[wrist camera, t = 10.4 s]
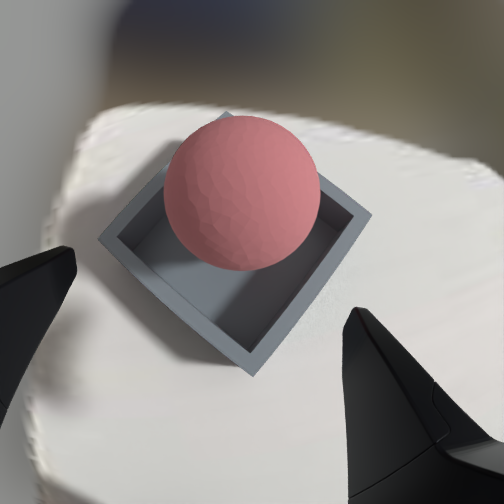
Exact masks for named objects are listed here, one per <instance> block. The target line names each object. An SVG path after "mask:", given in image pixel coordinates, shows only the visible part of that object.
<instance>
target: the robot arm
mask: <svg viewBox="0 0 504 504" xmlns="http://www.w3.org/2000/svg"><path fill="white" fill-rule="evenodd" d="M76 274H77V265H76V258H75V252H74V250H73V248H71V247H68V246H59V247H56V248H53V249H51V250H48V251H45V252H42V253H39V254H36V255H33V256H31V257H28V258H25V259H22V260H20V261H17V262H14V263H12V264H9V265H6V266H4V267H1V268H0V428H1V425H2V423H3V420H4V417H5V415H6V413H7V409H8V408H9V405H10V403H11V401H12V398H13V396H14V394H15V392H16V390H17V387H18V385H19V383H20V381H21V379H22V377H23V375H24V373H25V371H26V369H27V367H28V365H29V363H30V361H31V359H32V357H33V355H34V353H35V351H36V350H37V348H38V346H39V344H40V342H41V340H42V339H43V337H44V335H45V333H46V331H47V330H48V328H49V326H50V324H51V323H52V321H53V319H54V318H55V316H56V314H57V312H58V311H59V309H60V307H61V305H62V303H63V301H64V299H65V296H66V294H67V292H68V290H69V288H70V286H71V285H72V283H73V281H74V279H75V277H76ZM342 380H343V392H344V405H345V419H346V436H347V459H348V498H349V499H348V504H504V443H503V442H500V441H497V440H495V439H493V438H492V437H490V436H489V435H488V434H487V433H486V432H485V431H484V430H483V429H482V428H481V427H480V426H479V425H478V424H477V423H476V422H475V421H474V420H473V419H471V418H470V417H469V416H468V415H467V414H466V413H465V412H464V411H463V410H462V409H461V408H460V407H459V406H458V405H457V404H456V403H455V402H454V401H453V400H452V399H451V398H450V397H449V395H448V394H447V393H446V392H445V391H444V390H443V389H442V388H441V387H440V386H439V385H438V383H437V382H434V379H433V378H432V377H431V376H430V375H429V374H428V373H427V371H426V370H425V369H424V368H423V367H422V366H421V365H420V364H419V363H418V362H417V361H416V360H415V358H414V357H413V356H412V355H411V354H410V353H409V352H408V351H407V350H406V349H405V348H404V347H403V346H402V345H401V344H400V342H399V341H398V340H397V339H396V338H395V337H394V336H393V335H392V334H391V333H390V332H389V331H388V330H387V329H386V328H385V327H384V326H383V325H382V324H381V323H380V322H379V321H378V320H377V319H376V318H375V316H374V315H373V314H372V313H371V312H370V311H369V310H368V309H366V308H360V307H354V308H353V309H352V311H351V313H350V315H349V317H348V319H347V321H346V323H345V325H344V328H343V347H342Z"/></svg>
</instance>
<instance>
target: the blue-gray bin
mask: <svg viewBox="0 0 504 504" xmlns="http://www.w3.org/2000/svg"><path fill="white" fill-rule="evenodd" d="M231 116H233V115H232V114H230V113H228V112H227V111H226V112H224V113H223V114H222V115H221V116H220V117H219V118H217V119H216V120H218V119H222V118H226V117H231ZM170 162H171V161H170ZM170 162H169V163H168V164H167V165H166V166H165V167H164V168H163V169H162V170H161V171H160V172H159V173H158V174H157V175H156V176H155V177H154V178H153V179H152V180H151V181H150V182H149V183H148V184H147V185H146V186H145V187H144V188H143V189H142V190H141V191H140V192H139V193H138V194H137V195H136V196H135V197H134V199H133V200H132V201H131V202H130V203H129V204H128V205H127V206H126V207H125V208H124V209H123V210H122V212H121V213H120V214H119V215H118V216H117V217H116V218H115V219H114V221H113V222H112V223H111V224H110V225H109V226H108V227H107V229H106V230H105V231H104V232H103V233H102V234H101V236H100V237H99V238H98V240H99V241H100V242H101V243H102V244H103V245H104V246H105V247H106V248H107V249H108V251H109V252H110V253H111V254H112V255H113V256H114V257H115V258H116V259H117V260H118V261H119V262H120V263H121V264H122V265H123V266H124V267H125V268H126V269H128V270H129V271H130V272H131V273H132V274H133V275H134V276H135V277H136V278H137V279H138V280H139V281H140V282H141V283H142V284H143V285H144V286H145V287H146V288H147V289H148V290H150V291H151V292H152V293H153V294H154V295H155V296H156V297H157V298H158V299H159V300H160V301H161V302H163V303H164V304H165V305H166V306H167V307H168V308H169V309H170V310H172V311H173V312H174V313H175V314H176V315H177V316H178V317H179V318H181V319H182V320H183V321H184V322H185V323H186V324H188V325H189V326H190V327H191V328H192V329H193V330H195V331H196V332H197V333H198V334H199V335H201V336H202V337H203V338H204V339H205V340H207V341H208V342H209V343H210V344H211V345H213V346H214V347H215V348H216V349H218V350H219V351H220V352H221V353H223V354H224V355H225V356H226V357H228V358H229V359H230V360H231V361H233V362H234V363H235V364H236V365H238V366H239V367H240V368H242V369H243V370H244V371H246V372H247V373H248V374H250V375H251V376H252V377H254V375H255V374H256V373H257V372H258V371H259V369H260V368H261V367H262V366H263V365H264V363H265V362H266V361H267V360H268V358H269V357H270V356H271V355H272V354H273V352H274V351H275V350H276V349H277V347H278V346H279V345H280V344H281V342H282V341H283V340H284V338H285V337H286V336H287V335H288V333H289V332H290V331H291V329H292V328H293V327H294V326H295V324H296V323H297V322H298V320H299V319H300V318H301V316H302V315H303V314H304V312H305V311H306V310H307V308H308V307H309V306H310V304H311V303H312V302H313V300H314V299H315V298H316V296H317V295H318V294H319V292H320V291H321V290H322V288H323V287H324V285H325V284H326V283H327V281H328V280H329V278H330V277H331V276H332V274H333V273H334V271H335V270H336V268H337V267H338V266H339V264H340V263H341V261H342V260H343V258H344V257H345V256H346V254H347V253H348V251H349V250H350V248H351V247H352V245H353V244H354V242H355V241H356V239H357V238H358V236H359V235H360V233H361V232H362V230H363V229H364V227H365V226H366V224H367V223H368V221H369V219H370V218H371V216H372V214H371V213H369V212H368V211H367V210H366V209H365V208H363V207H362V206H361V205H360V204H358V203H357V202H356V201H355V200H353V199H352V198H351V197H350V196H348V195H347V194H346V193H344V192H343V191H342V190H341V189H339V188H338V187H337V186H335V185H334V184H333V183H331V182H330V181H329V180H327V179H326V178H325V177H323V176H322V175H321V174H319V173H318V172H317V173H318V177H319V182H320V204H319V209H318V213H317V217H316V220H315V222H314V225H313V227H312V229H311V231H310V232H309V234H308V236H307V237H306V239H305V240H304V241H303V243H302V244H301V245H300V246H299V247H298V248H297V249H296V250H295V251H294V252H292V253H291V254H290V255H288V256H287V257H286V258H285V259H283V260H281V261H279V262H277V263H275V264H273V265H270V266H268V267H265V268H261V269H257V270H250V271H233V270H227V269H222V268H218V267H215V266H213V265H210V264H208V263H206V262H204V261H203V260H201V259H199V258H198V257H196V256H195V255H194V254H192V253H191V252H190V251H189V250H188V249H187V248H186V247H185V246H184V245H183V244H182V243H181V242H180V240H179V239H178V237H177V236H176V234H175V233H174V231H173V229H172V227H171V225H170V223H169V220H168V217H167V214H166V210H165V204H164V182H165V177H166V173H167V170H168V167H169V164H170Z"/></svg>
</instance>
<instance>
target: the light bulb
mask: <svg viewBox="0 0 504 504" xmlns="http://www.w3.org/2000/svg"><path fill="white" fill-rule="evenodd" d="M164 204H165V210H166V214H167V217H168V220H169V223H170V225H171V227H172V229H173V231H174V233H175V234H176V236H177V237H178V239H179V240H180V242H181V243H182V244H183V245H184V246H185V247H186V248H187V249H188V250H189V251H190V252H191V253H192V254H194V255H195V256H196V257H198V258H199V259H201V260H203V261H204V262H206V263H208V264H210V265H213V266H215V267H218V268H222V269H227V270H233V271H250V270H257V269H261V268H265V267H268V266H270V265H273V264H275V263H277V262H279V261H281V260H283V259H285V258H286V257H287V256H288V255H290V254H291V253H292V252H294V251H295V250H296V249H297V248H298V247H299V246H300V245H301V244H302V243H303V241H304V240H305V239H306V237H307V236H308V234H309V232H310V231H311V229H312V227H313V225H314V222H315V220H316V217H317V213H318V209H319V204H320V182H319V177H318V173H317V170H316V167H315V164H314V162H313V159H312V157H311V156H310V154H309V152H308V151H307V149H306V148H305V146H304V145H303V144H302V143H301V141H300V140H299V139H298V138H296V137H295V136H294V135H293V134H292V133H291V132H290V131H288V130H287V129H285V128H284V127H282V126H280V125H278V124H276V123H274V122H272V121H270V120H266V119H263V118H259V117H253V116H231V117H226V118H222V119H218V120H215V121H212V122H210V123H208V124H206V125H204V126H203V127H201V128H199V129H198V130H197V131H195V132H194V133H193V134H191V135H190V136H189V137H188V138H187V139H186V140H185V141H184V142H183V143H182V144H181V146H180V147H179V148H178V150H177V151H176V153H175V154H174V156H173V158H172V160H171V162H170V164H169V167H168V170H167V173H166V177H165V182H164Z"/></svg>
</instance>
